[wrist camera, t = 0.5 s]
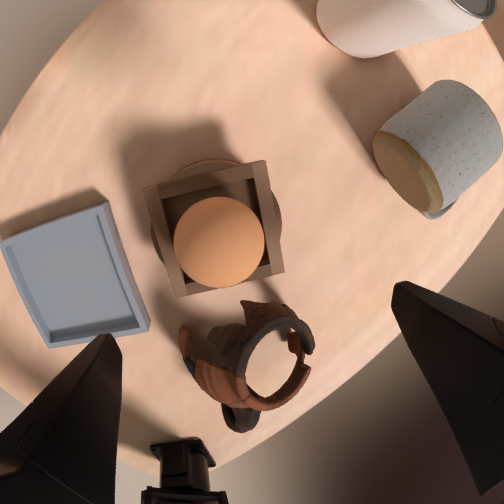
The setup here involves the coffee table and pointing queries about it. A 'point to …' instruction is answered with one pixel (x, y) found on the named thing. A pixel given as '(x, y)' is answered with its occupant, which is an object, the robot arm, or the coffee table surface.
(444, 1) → the can
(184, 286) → the open wooden box
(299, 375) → the pottery mug
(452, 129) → the ceramic mug
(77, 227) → the tray
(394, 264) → the coffee table surface
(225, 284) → the ball
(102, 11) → the coffee table surface
